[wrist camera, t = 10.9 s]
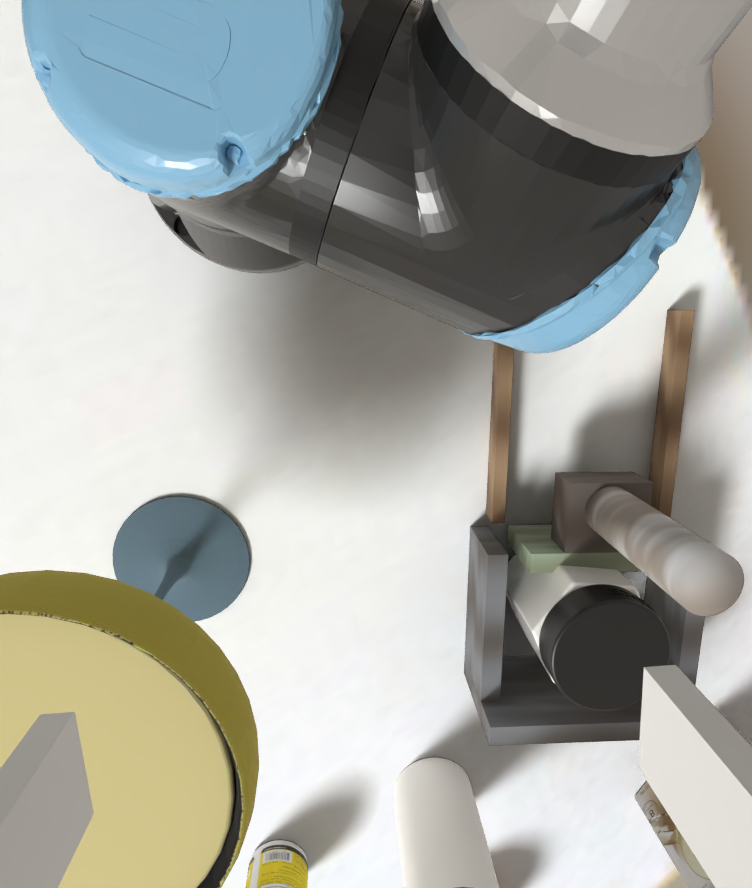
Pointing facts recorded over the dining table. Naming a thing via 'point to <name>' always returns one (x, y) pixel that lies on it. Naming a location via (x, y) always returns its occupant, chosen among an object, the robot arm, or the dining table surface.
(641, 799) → the coffee box
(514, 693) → the lane
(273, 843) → the supplement bottle
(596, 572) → the jar
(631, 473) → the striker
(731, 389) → the dining table surface
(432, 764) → the cylindrical container
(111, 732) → the cocktail glass
